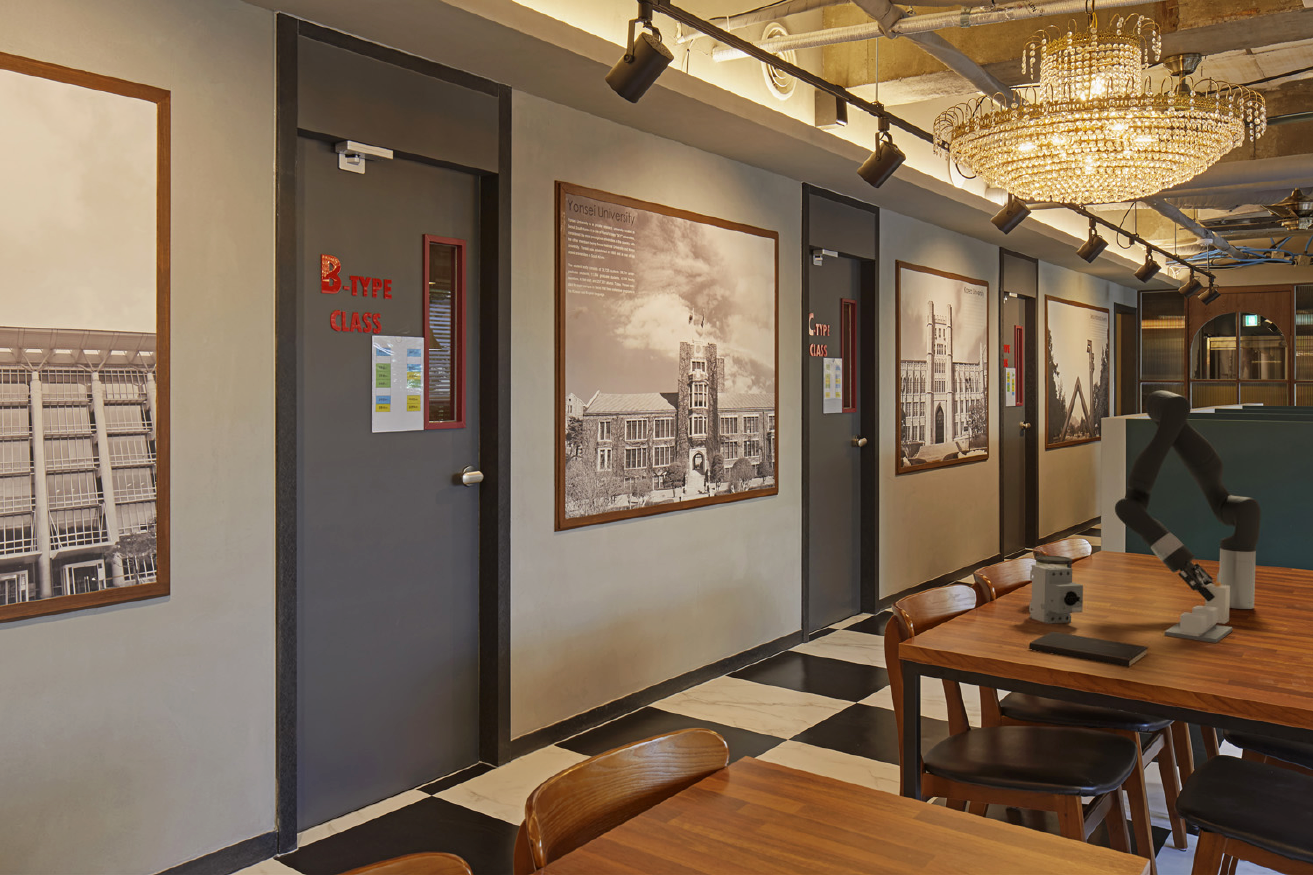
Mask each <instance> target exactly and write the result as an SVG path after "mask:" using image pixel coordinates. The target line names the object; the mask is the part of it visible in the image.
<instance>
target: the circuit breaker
mask: <svg viewBox="0 0 1313 875" xmlns="http://www.w3.org/2000/svg"><path fill="white" fill-rule="evenodd" d="M1030 567H1031V570H1030V572H1029V575H1030V576H1029V580H1030V581H1031V601H1029V606H1028V607H1029V610H1028V611H1029V613H1030V615H1029V616H1028V618H1031V619H1033V620H1036V621H1039V622H1042V623H1044V624H1049V625H1050V624H1061V623H1064V624H1065V623H1072V614H1073V613H1083V610H1084V609H1083V608H1084V607H1083V605H1084V604H1083V603H1084V600H1083V599H1084V585H1083V584H1080V583H1076V582H1073V568H1072V569H1071V568H1067V567H1063V566H1059V565H1054V564H1044V565H1036V564H1031V565H1030Z"/></svg>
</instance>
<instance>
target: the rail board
mask: <svg viewBox="0 0 1313 875" xmlns="http://www.w3.org/2000/svg"><path fill="white" fill-rule="evenodd" d="M1179 617H1180V619H1179V622H1177V623H1176V624H1174V625H1173V626H1171V627H1170V628H1168V629H1166V630H1165V631H1164V636H1168V637H1174V638H1180V639H1185V640H1186V639H1187V640H1193V639H1194V641H1201V642H1206V643H1207V642H1208V643H1213V644H1217V643H1218V642H1220V641H1221V640H1223V639H1224V638H1225V637H1226V636H1228V634H1230V633H1231V632H1233V627H1232V626H1227V625H1226V626H1225V625H1219V624H1217V617H1218V608H1215V607H1207V606H1205V605H1199V604H1197V605H1195V606H1194V607H1192V611H1191V612H1187V611H1185V612H1183V613H1182V614H1180V615H1179Z"/></svg>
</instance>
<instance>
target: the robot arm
mask: <svg viewBox="0 0 1313 875" xmlns="http://www.w3.org/2000/svg"><path fill="white" fill-rule="evenodd" d="M1144 407H1145V411H1146V414H1147V416H1148V417H1149V418H1150V420H1151V421H1152V422H1153V423H1154V424H1155V425H1156V426H1157V430H1156V431H1155V434H1154V436H1153V437H1152V439H1151V440H1150V442H1149V443H1148V444H1147V445H1146V447H1145V448H1144V449H1142V450H1141V452H1140V453H1139V455H1138V456H1137V457H1136V459H1135V460H1134V462H1133V465H1132V467H1131V470H1130V473H1129V475H1128V478H1127V482H1126V484H1127V489H1126V493H1125V495H1124V497H1123V498H1121V499H1119V500H1118V501H1117V502H1116V503H1115V505H1114V512H1115V515H1116V516H1117V518H1118V519H1119V520H1120V521H1121V522H1122V524H1125V526H1127V527H1128V528H1129V529H1130V530H1132V531H1133V532H1134V533H1135V534H1136V535H1138V536H1139V537H1140V538H1141V539H1142V541H1143V542H1144V543H1145V544H1146V545H1147V546H1148V547H1149V548H1150V549H1151V551H1152V552H1153V553H1154V555H1155V556H1156V557H1157V558H1158V559H1159V560H1160V561H1161V562H1162V563H1163V564H1164V565H1165V566H1166V567H1167V568H1168V569H1169V570H1170V571H1171V572H1172V573H1175V574H1176V573H1177V572H1178V571H1179V572H1178V574H1177V575H1178V576H1179V577H1180V578H1181V579H1182V580H1183V581H1184V582H1185V583H1186V585H1188V587H1189V588H1190V589H1191V590H1192V591H1196V592H1198V593H1199V594H1200V595H1201V596H1202V598H1204V600H1205V599H1206V600H1207V601H1211V600H1212V599H1214V598H1215V596H1214V595H1213V594H1212V593H1211V592H1210V591H1209V590H1208V589H1207V588H1206V585H1208V584H1210V583H1212V584H1215V582H1214V581H1213V579H1214V578H1213V577H1212V576H1211V575H1210V574H1209V573H1208V572H1207V571H1206V570H1205V569H1204V568H1203V566H1201V565H1200V563H1198V562H1197V563H1195V564H1194V563H1192V561H1193V560H1194V559H1195V557H1196V555H1194V553H1193V552H1191V550H1189V548H1188V547H1187V546H1185V544H1183V542H1182V541H1180V539H1179V538H1178V537H1177V536H1175V535H1174V534H1173V533H1172V532H1170V530H1168V528H1167V527H1165V525H1164V524H1162V522H1161V521H1159V520H1158V519H1156V518H1153V517H1152V516H1151V515H1150V514H1149V513H1147V509H1148V508H1149V507H1148V506H1149V503H1150V499H1151V494H1152V490H1153V488H1154V486H1155V483H1156V480H1157V477H1158V475H1159V473H1160V470H1161V467H1162V465H1163V463H1164V461H1165V459H1166V457H1167V455H1168V453H1169V451H1171V450H1170V449H1171V448H1173V450H1174V452H1175V453H1176V455H1177V456H1178V457H1179V459H1180V460H1181V462H1182V464H1183V466H1184V467H1185V468H1186V471H1187V472H1188V473H1189V475H1190V476H1191V477H1192V479H1193V480H1194V482H1195V483H1196V485H1197V486H1198V488H1199V490H1200V491H1201V492H1202V495H1203V496H1204V498H1205V499H1206V501H1207V503H1208V506H1209V508H1210V509H1211V512H1212V514H1213V515H1214V517H1215V518H1216V520H1217V521H1218V522H1220V524H1222V525H1225V526H1229V527H1234V531H1233V534H1231V535H1230V536H1228V537H1224V538H1222V539H1220V542H1219V569H1218V570H1219V572H1217V573H1216V581H1217V582H1221V585H1229V586H1230V602H1229V609H1230V608H1231V609H1239V610H1251V609H1255V592H1256V591H1255V588H1256V585H1255V583H1256V580H1255V579H1256V555H1257V553H1256V552H1257V546H1258V541H1259V540H1260V529H1261V527H1260V526H1261V516H1262V515H1261V514H1262V512H1261V510H1262V509H1261V507H1260V504H1259V502H1258V501H1257V500H1256V499H1254V498H1252V497H1248V496H1239V495H1233V494H1231V493H1230V492H1229V490H1227V488H1226V486H1225V485H1224V482H1223V474H1224V464H1223V463H1224V462H1223V461H1222V458H1221V457H1220V455H1219V453H1218V452H1217V451H1216V449H1215V447H1214V446H1213V445H1212V444H1211V443H1210V442H1209V440H1207V439H1206V438H1205V437H1204V436H1203V435H1202V434H1201V433H1199V431H1197V430H1196V429H1195V428H1194V427H1193V426H1191V424H1190V423H1189V422H1188V419H1189V416H1190V414H1191V408H1192V405H1191V403H1190V401H1189V400H1188V398H1186V397H1185V396H1184V395H1180V394H1177V393H1174V392H1172V391H1168V390H1155V391H1153V392H1151V393H1150V394H1149V395H1148V397H1147V398H1146V400H1145V406H1144Z"/></svg>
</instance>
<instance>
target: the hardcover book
mask: <svg viewBox="0 0 1313 875" xmlns="http://www.w3.org/2000/svg"><path fill="white" fill-rule="evenodd" d="M1028 646H1029V647H1028V650H1029V649H1032V650H1031V651H1033V650H1036V651H1035V652H1039V651H1041V653H1045V654H1050V653H1053V654H1052V655H1056V654H1057V655H1056V656H1061V655H1062V657H1067V658H1073V659H1080V660H1084V661H1085V660H1086V661H1091V662H1097V663H1103V664H1108V665H1113V666H1117V667H1118V666H1119V667H1126V668H1130V666H1131V665H1133V664H1134V663H1136V662H1137V661H1139V660H1140V659H1142V658H1143V657H1145V656H1146V655H1147V650H1148V649H1149V647H1148V646H1145V645H1138V644H1133V643H1132V644H1131V643H1126V642H1125V643H1124V642H1119V641H1113V640H1108V639H1107V640H1106V639H1102V638H1101V639H1100V638H1095V637H1087V636H1082V635H1076V634H1068V633H1065V632H1063V633H1062V632H1057V631H1050V632H1048V633H1047V634H1044V635H1043V636H1040V637H1038V638H1036V639H1034V640H1033V641H1031V642H1029V645H1028ZM1144 655H1145V656H1144Z"/></svg>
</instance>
